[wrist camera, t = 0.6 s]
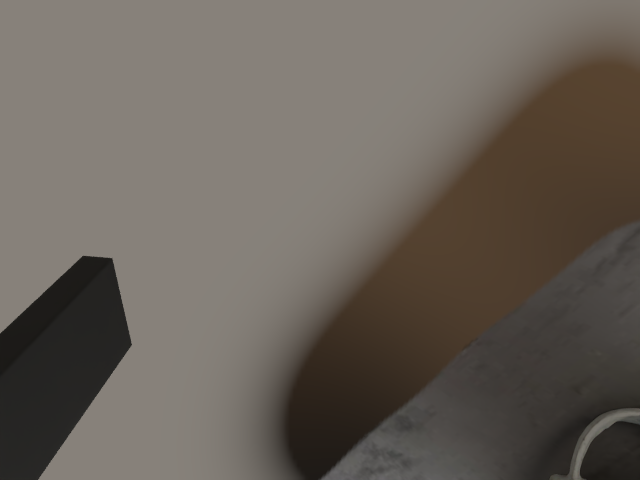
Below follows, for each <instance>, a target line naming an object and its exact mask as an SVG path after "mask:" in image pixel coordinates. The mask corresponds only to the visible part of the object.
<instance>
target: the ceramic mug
mask: <svg viewBox="0 0 640 480" xmlns="http://www.w3.org/2000/svg"><path fill="white" fill-rule="evenodd" d="M617 421H624V422H630V423H635V424H639V425H640V408H621V409H616V410H612V411H609V412H606V413H603V414H601V415H600V416H598V417H597V418H596V419H594V420H593V421H592V422H591V423H590V424H589V425H588V426H587V427H586V428H585V430H584V431H583V433H582V434H581V436H580V437H579V439H578V442H577V445H576V447H575V450H574V454H573V457H572V460H571V465H570V472H569V473H568V475H557V474H554V475H551V476H550V480H586V479H582V478H581V476H580V467H581V463H582V461H583V458H584V456H585V454H586V451H587V449H588V447H589V445H590V443H591V442H592V440H593V439H594V438H595V437H596V436H597V435H599V434H600V433H601V432H602V431H603V430H604V429H606V428H609V427H610V426H611V425H612V424H614V423H615V422H617Z"/></svg>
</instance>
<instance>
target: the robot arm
mask: <svg viewBox="0 0 640 480" xmlns="http://www.w3.org/2000/svg"><path fill="white" fill-rule="evenodd" d="M131 345H132V344H131V339H130V335H129V330H128V326H127V321H126V317H125V313H124V308H123V304H122V300H121V295H120V291H119V287H118V282H117V277H116V273H115V269H114V264H113V260H112V258H103V257H90V256H82V257H81V258H80V259H79V260H78V261H77V262H76V263H75V264H74V265H73V266H72V267H71V268H70V269H69V270H68V271H67V272H66V273H64V274H63V275H62V276H61V277H60V278H59V279H58V280H57V281H56V282H55V283H54V284H53V285H52V286H51V287H50V288H48V289H47V290H46V291H45V292H44V293H43V294H42V295H41V296H40V297H39V298H38V299H37V300H36V301H34V302H33V303H32V304H31V305H30V306H29V307H28V308H27V309H26V310H25V311H24V312H23V313H22V314H21V315H20V316H18V317H17V319H15V320H14V321H13V322H12V323H11V324H10V325H9V326H8V327H7V328H6V329H5V330H4V331H2V332H1V333H0V480H38V479H39V477H40V476H41V474H42V473H43V471H44V470H45V469H46V467H47V466H48V464H49V463H50V461H51V460H52V459H53V457H54V456H55V454H56V453H57V451H58V450H59V449H60V447H61V446H62V444H63V443H64V441H65V440H66V439H67V437H68V435H69V434H70V433H71V431H72V430H73V428H74V427H75V425H76V424H77V423H78V421H79V420H80V418H81V417H82V416H83V414H84V413H85V411H86V410H87V408H88V407H89V406H90V404H91V403H92V401H93V400H94V398H95V397H96V396H97V394H98V393H99V391H100V390H101V388H102V387H103V385H104V384H105V382H106V381H107V380H108V378H109V377H110V375H111V374H112V373H113V371H114V370H115V368H116V367H117V365H118V364H119V362H120V361H121V359H122V358H123V357H124V355H125V354H126V352H127V351H128V350H129V348H130V347H131Z"/></svg>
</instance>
